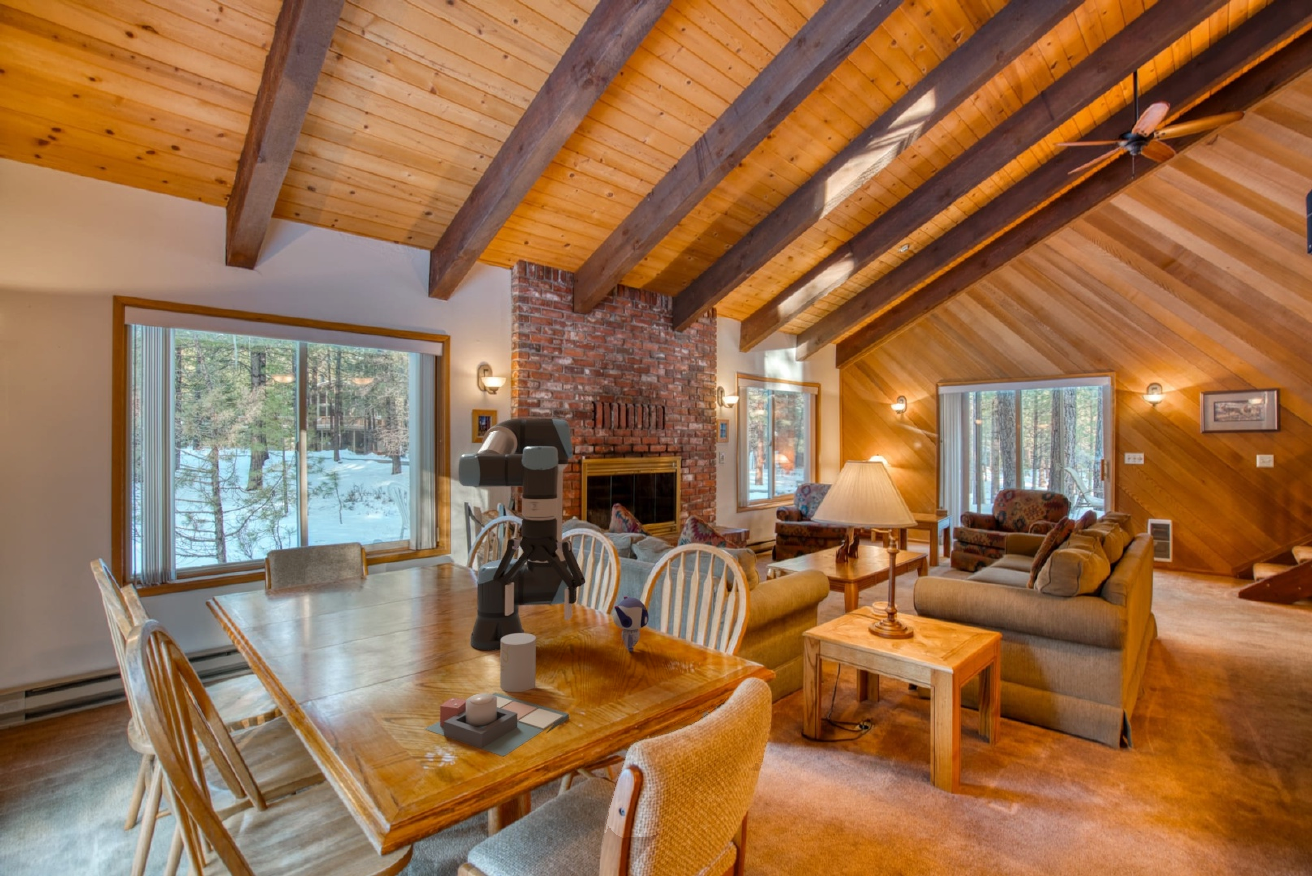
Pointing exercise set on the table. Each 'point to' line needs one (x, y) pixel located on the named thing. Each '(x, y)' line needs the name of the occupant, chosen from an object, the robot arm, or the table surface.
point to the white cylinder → (517, 662)
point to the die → (451, 709)
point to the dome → (481, 709)
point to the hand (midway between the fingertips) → (538, 616)
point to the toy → (630, 620)
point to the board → (503, 725)
